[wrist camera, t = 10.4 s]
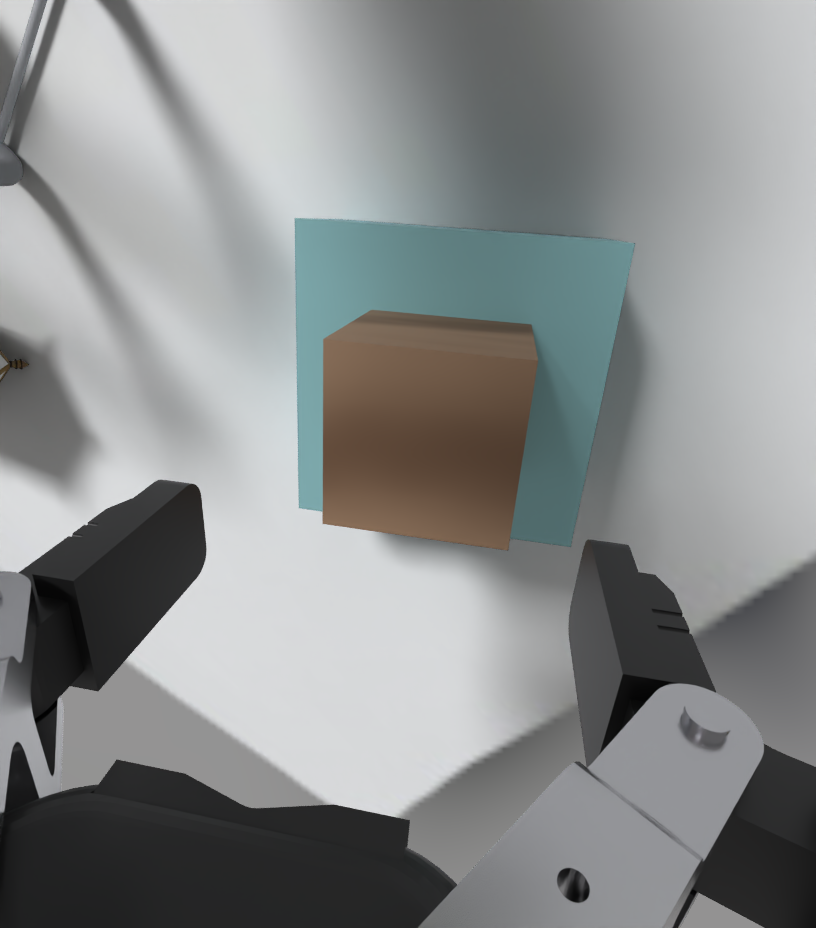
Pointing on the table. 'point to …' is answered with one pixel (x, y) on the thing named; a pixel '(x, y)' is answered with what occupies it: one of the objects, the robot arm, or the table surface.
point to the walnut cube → (426, 425)
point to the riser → (484, 298)
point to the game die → (9, 365)
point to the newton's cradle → (3, 162)
